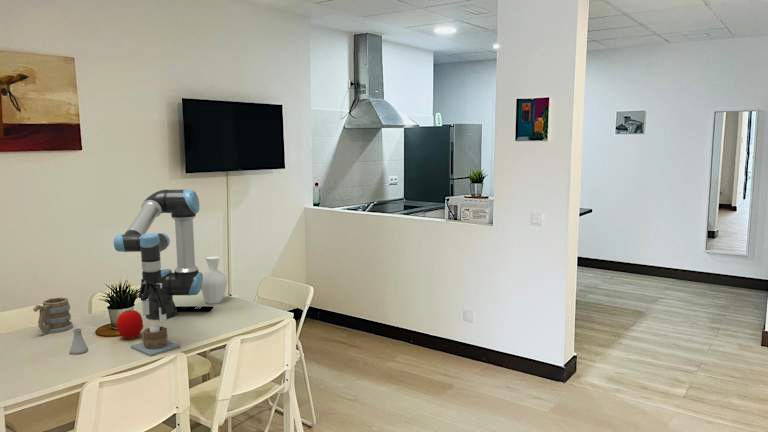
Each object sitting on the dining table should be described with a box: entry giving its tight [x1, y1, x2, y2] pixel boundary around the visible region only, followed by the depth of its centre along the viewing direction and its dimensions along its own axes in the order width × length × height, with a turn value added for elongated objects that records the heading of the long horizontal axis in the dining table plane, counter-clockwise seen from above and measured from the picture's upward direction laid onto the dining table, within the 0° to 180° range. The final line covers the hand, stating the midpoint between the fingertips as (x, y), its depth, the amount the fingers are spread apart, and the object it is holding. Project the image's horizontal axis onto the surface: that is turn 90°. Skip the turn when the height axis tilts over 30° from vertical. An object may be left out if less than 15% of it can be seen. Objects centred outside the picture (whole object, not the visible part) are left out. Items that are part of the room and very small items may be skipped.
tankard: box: [32, 297, 74, 334], centre depth 273 cm, size 20×13×15 cm, turn 168°
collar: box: [142, 325, 168, 347], centre depth 252 cm, size 9×9×6 cm
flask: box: [68, 327, 89, 355], centre depth 247 cm, size 7×7×10 cm
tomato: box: [115, 309, 144, 339], centre depth 265 cm, size 11×11×13 cm
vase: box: [200, 255, 228, 305], centre depth 322 cm, size 14×14×25 cm
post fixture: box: [130, 324, 181, 357], centre depth 252 cm, size 16×14×10 cm
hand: (154, 318), depth 251 cm, fingers open, 13 cm apart
